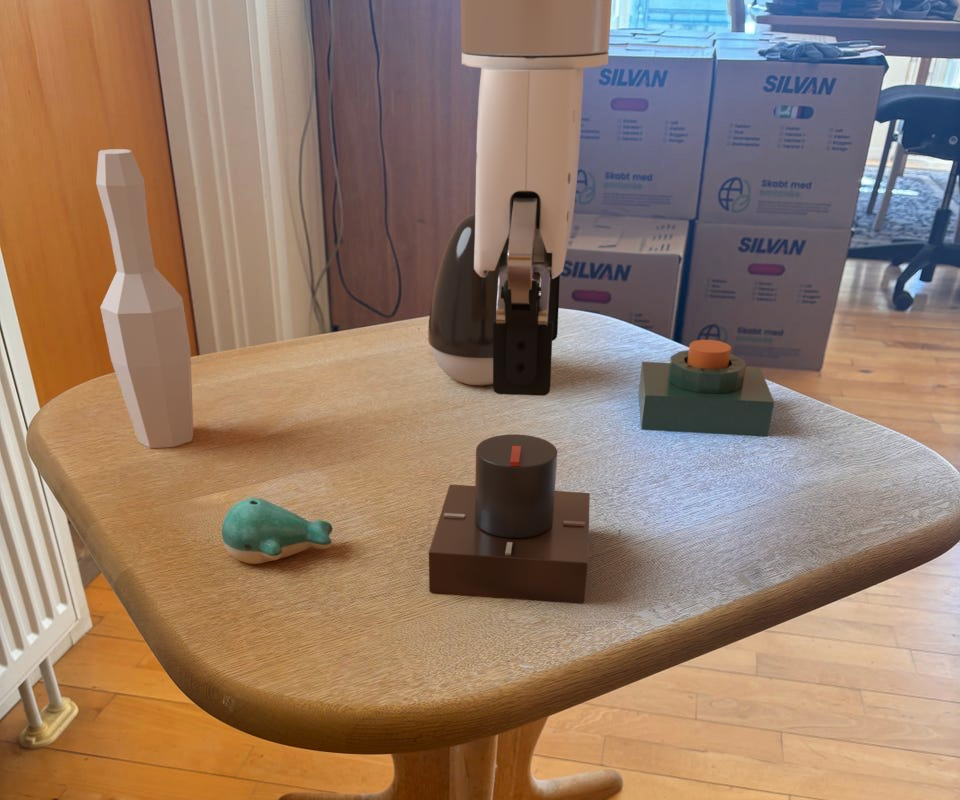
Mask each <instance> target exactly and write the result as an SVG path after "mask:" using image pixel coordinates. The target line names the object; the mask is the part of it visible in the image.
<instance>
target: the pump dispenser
mask: <svg viewBox="0 0 960 800" xmlns="http://www.w3.org/2000/svg"><path fill="white" fill-rule="evenodd" d="M474 247H475V213H472V214H470V215H468V216H465V217H464V218H463V219H462V220H460V221H459V223H458V224H457V225H456V227H455V228H454V230H453V232H452V233H451V235H450V237H449V239H448V241H447V243H446V246H445V248H444V251H443V254H442V256H441V260H440V264H439V267H438V271H437V275H436V278H435V281H434V286H433V292H432V297H431V302H430V310H429V317H428V327H427V340H428V344H429V346H431V349H432V352H433V357H434V359H435V361H436V363H437V365H438V366H439V367H440V369H441V370H442V372H443V373H445V375H447V376H448V377H450V378H451V379H453V380H454V381H457V382H459V383H462V384H465V385H470V386H491V385H492V386H493V322H494V320H496V308H497V293H498V278H499V263H500V258H499V261H498V263H497V266H496V268H495V271H489V272H488V274H487V276H486V277H480V276H479V275H478V274H477V273H476V271H475V270H474Z"/></svg>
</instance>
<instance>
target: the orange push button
mask: <svg viewBox="0 0 960 800" xmlns="http://www.w3.org/2000/svg"><path fill="white" fill-rule="evenodd" d="M688 350H689V353H688V360H687V364H689V365H691V366H694V367H698V368H702V369H723V368H728V364H729V358H730V354H731V351H732V347H731V345H730V344H728V343H727V342H724V341H720V340H716V339H715V340H714V339H698V340H693V341H692V342H690V343H689V346H688Z"/></svg>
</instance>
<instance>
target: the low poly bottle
mask: <svg viewBox="0 0 960 800" xmlns="http://www.w3.org/2000/svg"><path fill="white" fill-rule="evenodd" d="M95 179H96V180H95V181H96V182H95V184H96V188H97V190H98V195H99V198H100V201H101V202H100V203H101V207H102V209H103V213H104V216H105V220H106V224H107V227H108V233H109V238H110V243H111V249H112V252H113V258H114V263H115V269H116V273H115V274H114V276H113V279H112V281H111V283H110V285H109V287H108V289H107V292H106V294H105V296H104V298H103V300H102V303H101V305H100V307H99V308H100V312H101V317H102V322H103V328H104V332H105V337H106V341H107V347H108V352H109V357H110V361H111V365H112V367H113V370H114V373H115V376H116V379H117V382H118V386H119V389H120V391H121V394H122V397H123V401H124V403H125V406H126V410H127V412H128V415H129V417H130V418H129V419H130V421H131V424H132V427H133V430H134V434H135V436H136V439H137V442H138V443H139V444H141V445H143V446H145V447H147V448H149V449H162V448H174V447H177V446H180V445H181V446H182V445H185V444H186V443H189V442H192V441H193V438H194V437H193V436H194V414H193V413H194V407H193V384H192V383H193V381H192V354H191V353H192V351H191V344H190V337H189V331H188V325H187V319H186V312H185V305H184V299H183V296H181V294H180V293H179V292H178V290H176V289H175V287H174V286H173V285H172V284H171V283H170V282H169V281H168V280H167V278H165V276H164V275H163V274H162V273H161V272H160V271H159V270H158V268H157V267H156V264H155V259H154V253H153V247H152V246H153V245H152V241H151V240H152V239H151V235H150V229H149V222H148V209H147V198H146V197H147V196H146V186H145V185H146V184H145V179H144V177H143V174H142V172H141V169H140V167H139V165H138V162H137V160H136V158H135V156H134V153H133V151H132V150H131V149H125V148H110V149H101V150H99V151H98V153H97V167H96V178H95Z"/></svg>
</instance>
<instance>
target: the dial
mask: <svg viewBox="0 0 960 800" xmlns="http://www.w3.org/2000/svg"><path fill="white" fill-rule="evenodd" d="M557 465H558V450H557V447H556V446H555V445H554V444H553V443H552V442H550V441H549V440H546V439H544V438H541V437H538V436H535V435H528V434H502V435H501V434H500V435H495V436H491V437H488V438H486V439H483V440H482V441H481V442H479V443H478V444H477V445H476V448H475V480H474V481H475V482H474V483H475V484H474V486H475V521H476V523H477V525H478V526H479V527H480V528H481V529H482V530H484V531H485V532H487V533H490V534H492V535H496V536H500V537H506V538H526V537H532V536H536V535H539V534H541V533H544V532H545V531H547V530H548V529H549V528H550V527H551V525H552V523H553V512H554V497H555V491H556V483H557V482H556V480H557V467H558V466H557Z"/></svg>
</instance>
